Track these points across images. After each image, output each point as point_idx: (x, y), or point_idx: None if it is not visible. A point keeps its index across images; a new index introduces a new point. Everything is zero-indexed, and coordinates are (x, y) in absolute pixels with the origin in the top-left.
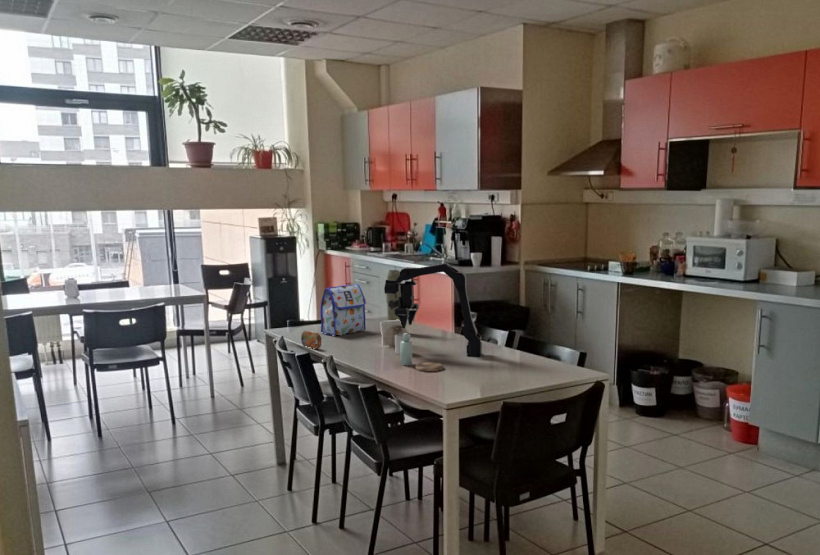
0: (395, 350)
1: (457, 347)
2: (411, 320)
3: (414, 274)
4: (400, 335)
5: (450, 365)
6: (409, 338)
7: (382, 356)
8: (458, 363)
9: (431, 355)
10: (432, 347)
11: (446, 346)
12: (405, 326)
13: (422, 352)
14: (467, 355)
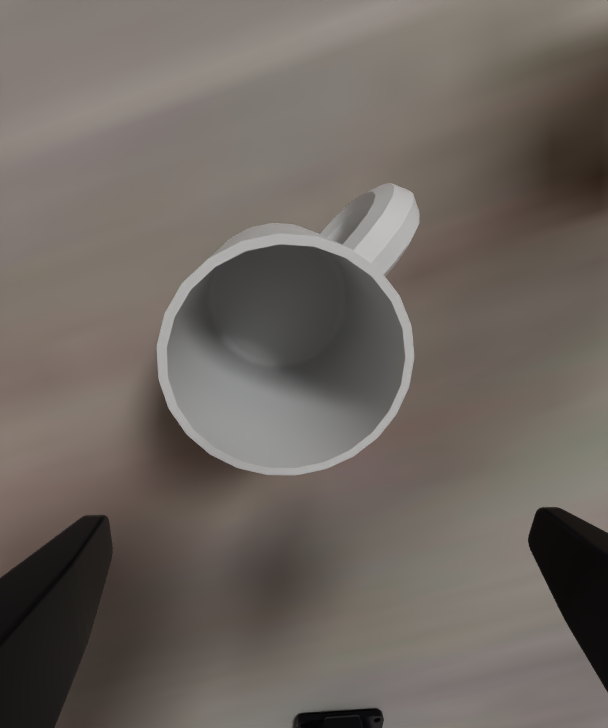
0: (234, 236)
1: (548, 613)
2: (603, 648)
3: None
4: (381, 294)
5: None
6: (272, 451)
7: (73, 116)
8: (96, 723)
9: (267, 537)
10: (547, 471)
11: None
12: (92, 607)
13: None
14: (296, 723)
